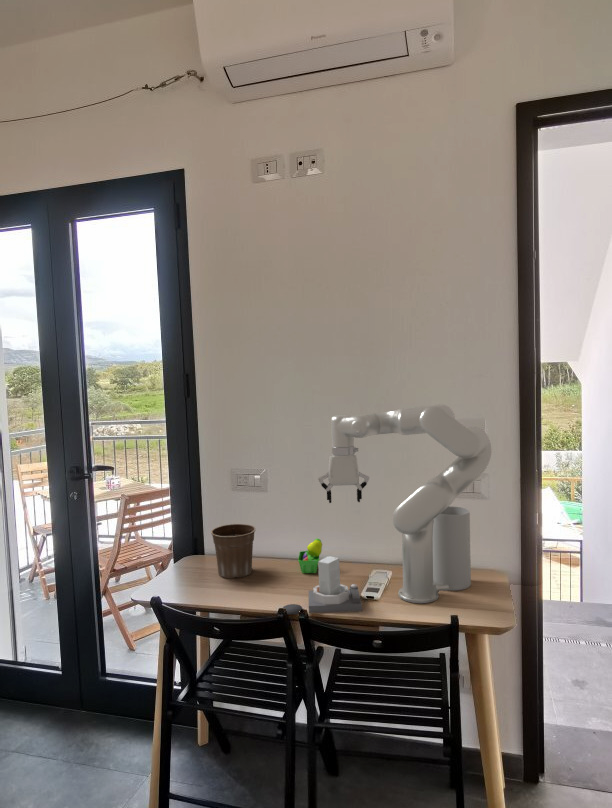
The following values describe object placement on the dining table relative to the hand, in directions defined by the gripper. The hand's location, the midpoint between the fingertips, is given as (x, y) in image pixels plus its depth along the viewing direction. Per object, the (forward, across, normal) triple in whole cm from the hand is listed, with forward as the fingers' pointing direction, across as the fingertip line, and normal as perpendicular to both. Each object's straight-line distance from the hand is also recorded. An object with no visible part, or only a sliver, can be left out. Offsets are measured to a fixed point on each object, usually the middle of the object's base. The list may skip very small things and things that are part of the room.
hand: (344, 501), depth 183 cm
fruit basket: (+29, +12, -16) cm, 35 cm away
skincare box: (+26, +6, +16) cm, 32 cm away
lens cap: (+29, +18, +20) cm, 39 cm away
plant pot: (+29, +40, -14) cm, 51 cm away
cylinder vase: (+28, -35, +3) cm, 45 cm away
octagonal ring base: (+28, +5, +16) cm, 33 cm away
